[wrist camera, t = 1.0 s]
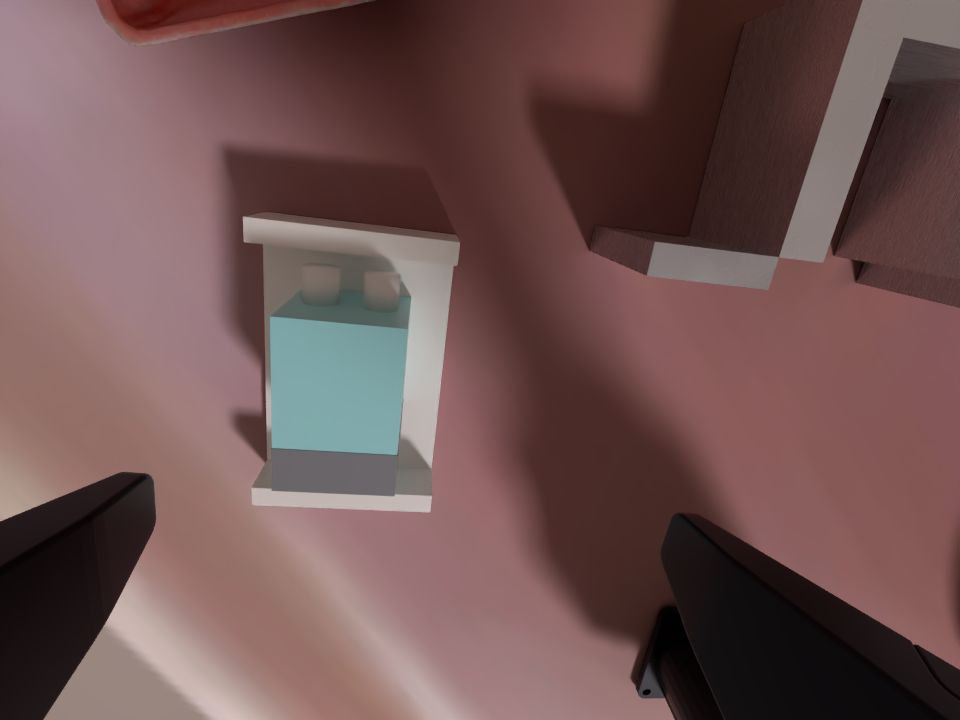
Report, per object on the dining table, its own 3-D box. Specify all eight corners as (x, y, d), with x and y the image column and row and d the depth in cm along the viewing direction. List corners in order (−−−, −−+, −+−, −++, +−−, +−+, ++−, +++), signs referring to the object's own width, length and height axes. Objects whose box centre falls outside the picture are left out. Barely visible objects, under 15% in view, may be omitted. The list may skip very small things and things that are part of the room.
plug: (400, 433, 21) (394, 496, 17) (303, 427, 21) (271, 490, 16) (414, 265, 19) (411, 290, 15) (305, 253, 18) (268, 275, 14)
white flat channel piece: (429, 478, 23) (430, 512, 20) (270, 469, 22) (252, 505, 19) (455, 234, 19) (460, 242, 17) (266, 211, 18) (242, 216, 16)
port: (934, 292, 22) (1089, 326, 17) (589, 250, 20) (646, 275, 15) (1028, 79, 19) (1248, 42, 14) (638, 2, 17) (731, -75, 12)
